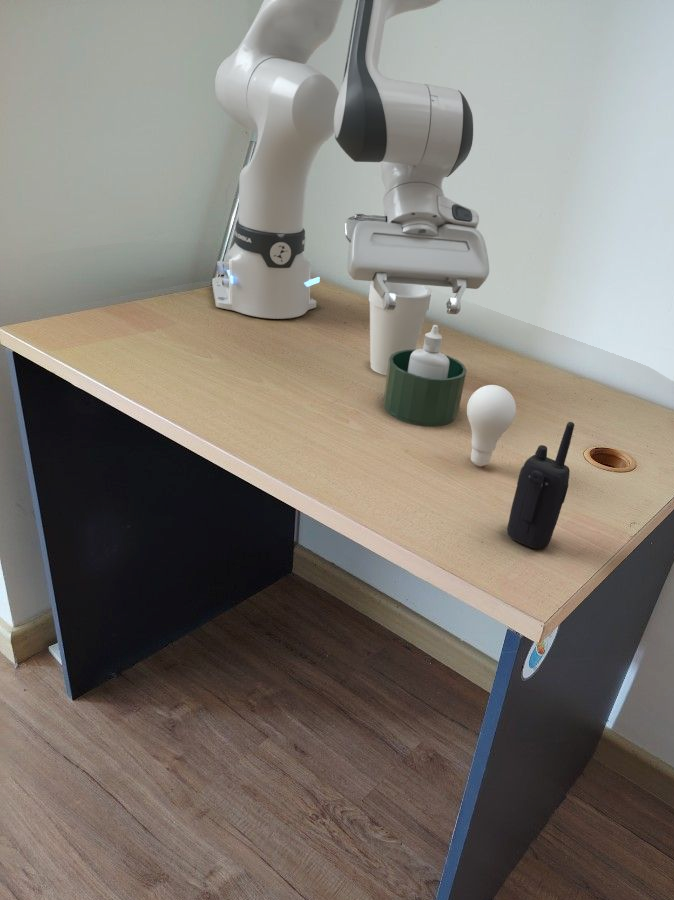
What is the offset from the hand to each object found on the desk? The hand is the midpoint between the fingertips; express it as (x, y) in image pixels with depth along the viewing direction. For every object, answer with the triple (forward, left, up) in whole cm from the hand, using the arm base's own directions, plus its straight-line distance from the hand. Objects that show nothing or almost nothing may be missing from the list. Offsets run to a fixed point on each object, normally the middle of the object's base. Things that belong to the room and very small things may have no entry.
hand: (422, 310), depth 106 cm
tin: (+4, 0, -13) cm, 14 cm away
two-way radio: (+38, -4, -14) cm, 40 cm away
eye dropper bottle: (+4, 0, -13) cm, 14 cm away
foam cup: (-11, +2, -14) cm, 18 cm away
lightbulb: (+21, 0, -14) cm, 25 cm away
